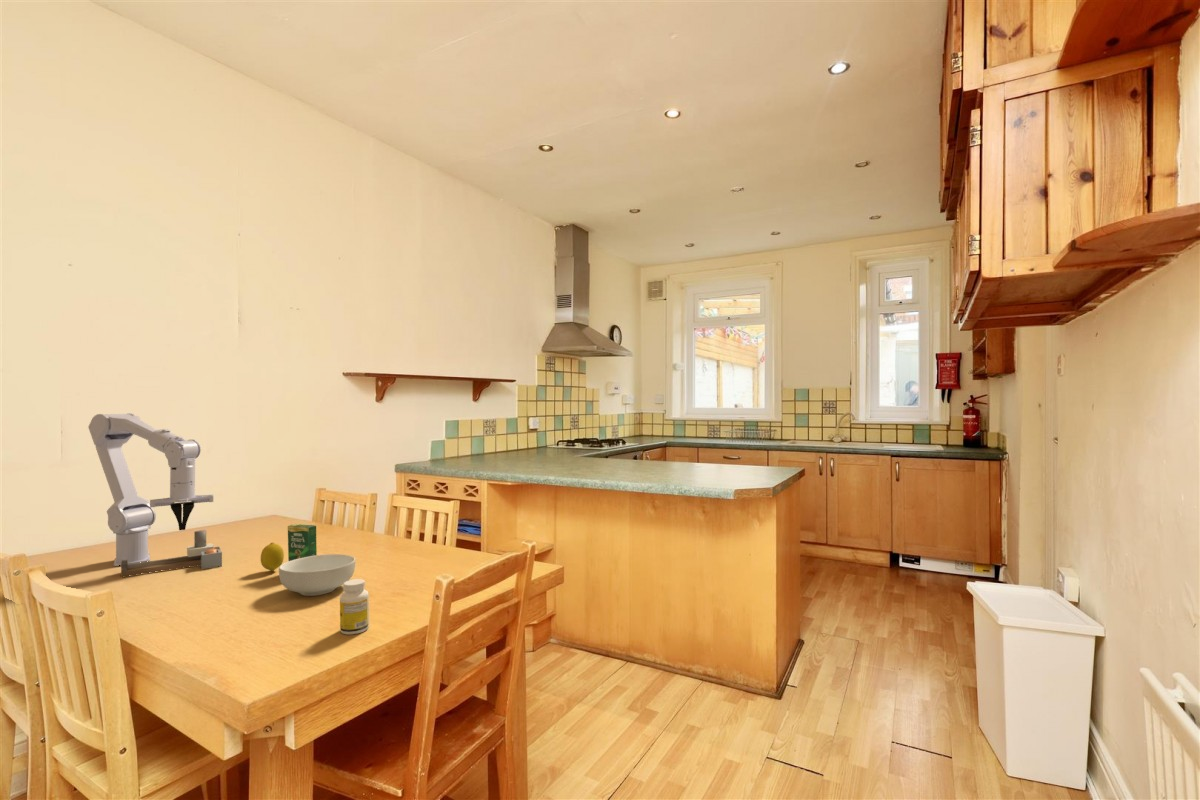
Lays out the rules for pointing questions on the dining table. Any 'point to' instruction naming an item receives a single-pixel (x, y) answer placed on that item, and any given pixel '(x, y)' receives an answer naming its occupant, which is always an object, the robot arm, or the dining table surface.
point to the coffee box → (301, 541)
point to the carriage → (199, 544)
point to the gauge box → (211, 559)
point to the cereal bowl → (317, 573)
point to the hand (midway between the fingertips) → (182, 529)
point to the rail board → (159, 565)
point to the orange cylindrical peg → (211, 551)
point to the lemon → (272, 556)
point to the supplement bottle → (354, 607)
